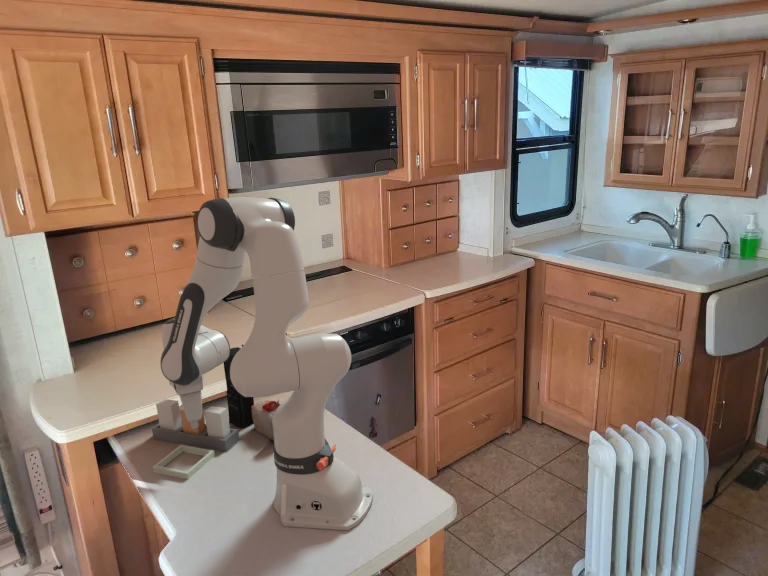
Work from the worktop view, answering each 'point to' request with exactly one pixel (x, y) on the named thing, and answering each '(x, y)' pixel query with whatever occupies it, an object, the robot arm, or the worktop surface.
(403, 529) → the worktop surface
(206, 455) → the tray
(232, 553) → the worktop surface
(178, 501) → the worktop surface
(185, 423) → the block
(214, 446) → the fuse block
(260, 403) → the food item
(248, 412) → the portable radio
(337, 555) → the worktop surface
